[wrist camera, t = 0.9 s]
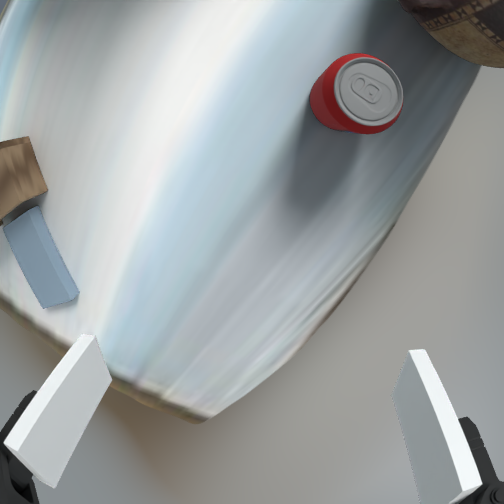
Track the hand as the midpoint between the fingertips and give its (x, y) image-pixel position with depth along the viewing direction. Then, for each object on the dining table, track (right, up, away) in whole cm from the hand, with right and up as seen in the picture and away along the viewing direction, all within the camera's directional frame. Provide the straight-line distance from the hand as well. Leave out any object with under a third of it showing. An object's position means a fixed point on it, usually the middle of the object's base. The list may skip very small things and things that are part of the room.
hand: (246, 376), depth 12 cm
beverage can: (+10, +21, +18) cm, 30 cm away
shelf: (-37, +16, +25) cm, 47 cm away
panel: (-33, +4, +30) cm, 44 cm away
